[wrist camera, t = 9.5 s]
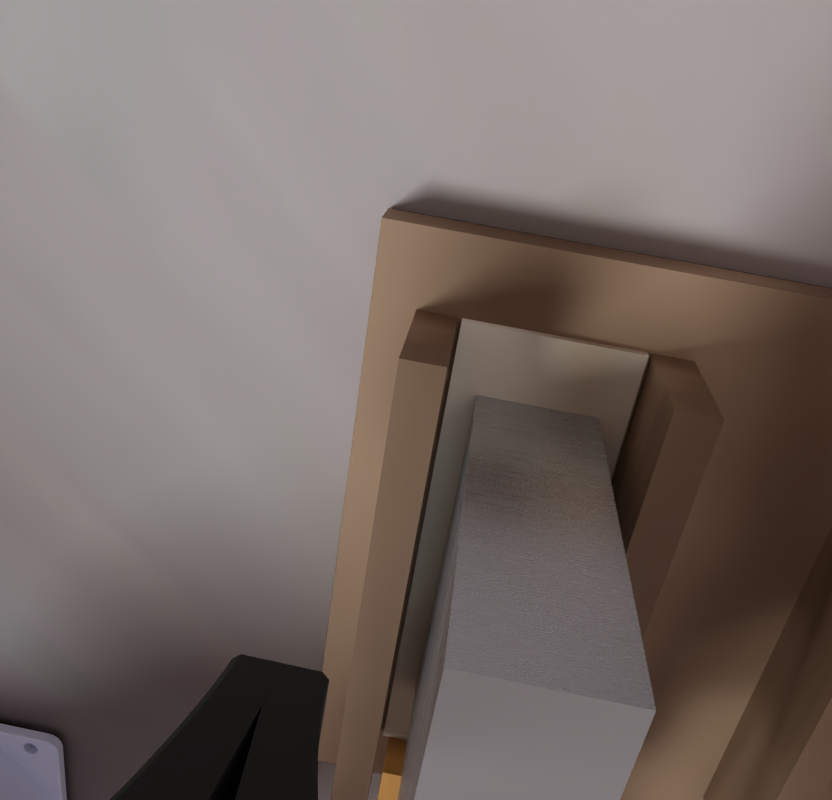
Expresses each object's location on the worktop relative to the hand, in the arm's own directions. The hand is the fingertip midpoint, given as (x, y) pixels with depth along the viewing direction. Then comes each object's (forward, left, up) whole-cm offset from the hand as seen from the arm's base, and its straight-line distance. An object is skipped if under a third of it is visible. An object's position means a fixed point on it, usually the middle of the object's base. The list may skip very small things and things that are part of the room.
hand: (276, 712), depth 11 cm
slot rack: (+9, -4, -10) cm, 15 cm away
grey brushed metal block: (+4, -4, -9) cm, 11 cm away
